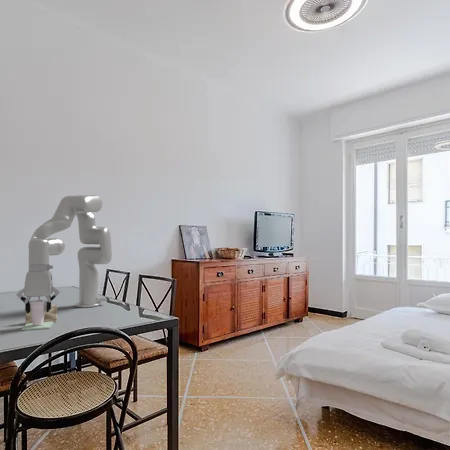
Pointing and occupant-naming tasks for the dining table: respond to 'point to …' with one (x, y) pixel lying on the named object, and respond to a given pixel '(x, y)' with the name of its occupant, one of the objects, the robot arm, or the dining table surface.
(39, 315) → the smoothie
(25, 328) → the mat
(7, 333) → the dining table surface
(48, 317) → the screen
